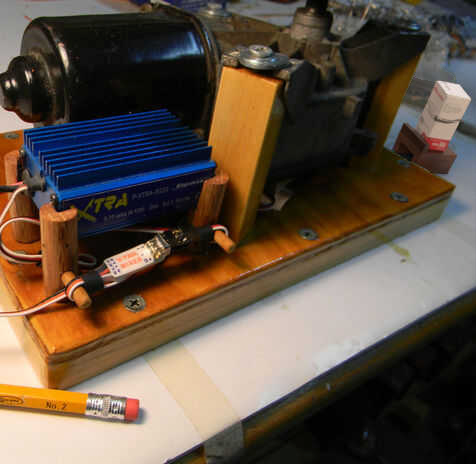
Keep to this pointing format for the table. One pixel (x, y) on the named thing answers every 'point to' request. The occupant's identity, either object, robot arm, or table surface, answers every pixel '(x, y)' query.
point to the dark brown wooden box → (423, 151)
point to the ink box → (442, 114)
